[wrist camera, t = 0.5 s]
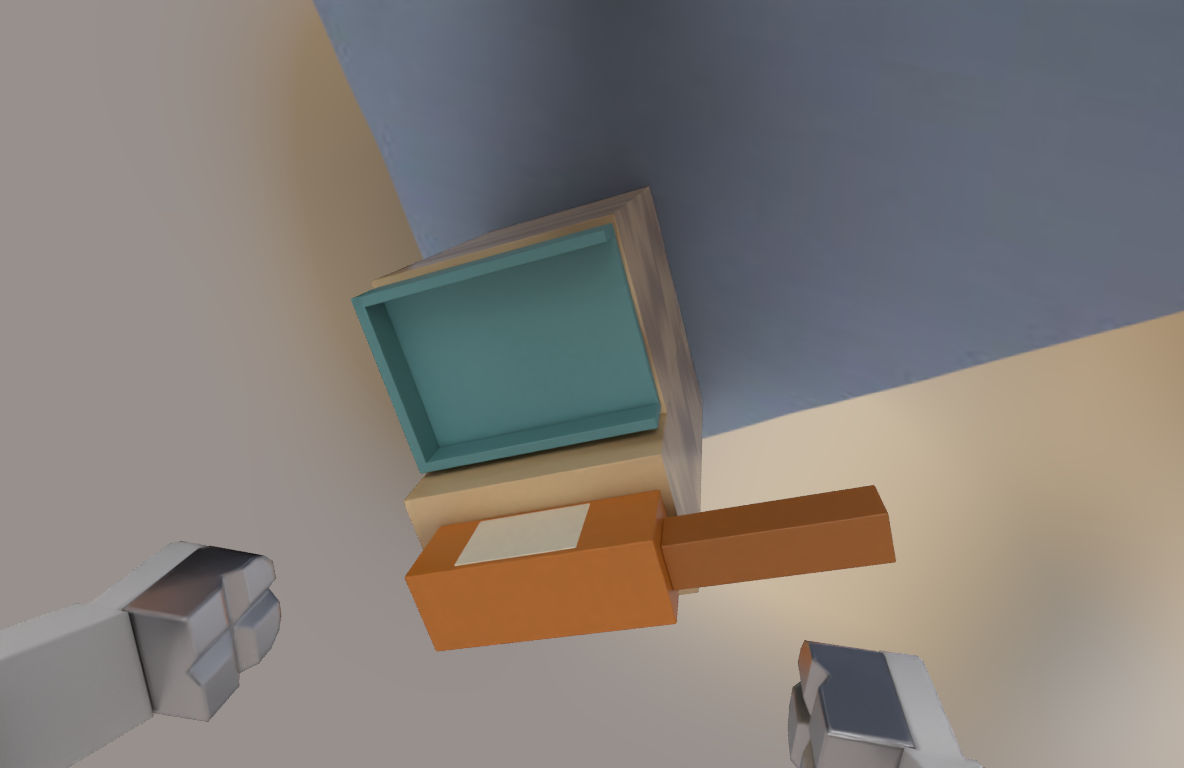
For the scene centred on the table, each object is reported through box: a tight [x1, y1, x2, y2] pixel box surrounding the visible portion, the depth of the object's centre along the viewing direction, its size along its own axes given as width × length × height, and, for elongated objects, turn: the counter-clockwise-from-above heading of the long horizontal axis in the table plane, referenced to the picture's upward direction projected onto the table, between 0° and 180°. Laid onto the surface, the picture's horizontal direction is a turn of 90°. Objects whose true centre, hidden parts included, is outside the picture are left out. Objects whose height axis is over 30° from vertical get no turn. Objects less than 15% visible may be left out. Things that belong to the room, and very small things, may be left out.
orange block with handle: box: [405, 485, 896, 651], centre depth 30 cm, size 22×4×4 cm, turn 106°
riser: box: [371, 186, 703, 595], centre depth 44 cm, size 19×14×26 cm
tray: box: [351, 223, 661, 474], centre depth 34 cm, size 10×14×3 cm
